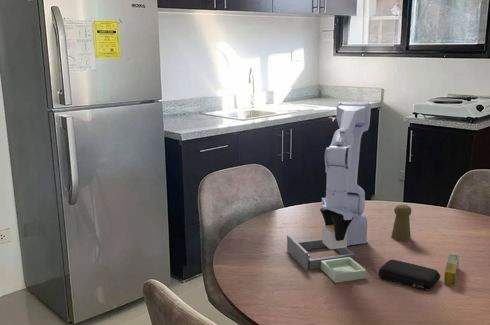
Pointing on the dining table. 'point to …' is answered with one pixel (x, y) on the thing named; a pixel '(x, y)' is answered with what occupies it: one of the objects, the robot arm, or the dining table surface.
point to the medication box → (451, 270)
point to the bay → (343, 269)
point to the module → (332, 238)
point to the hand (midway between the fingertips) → (335, 236)
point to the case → (300, 248)
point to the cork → (401, 223)
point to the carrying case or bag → (409, 274)
